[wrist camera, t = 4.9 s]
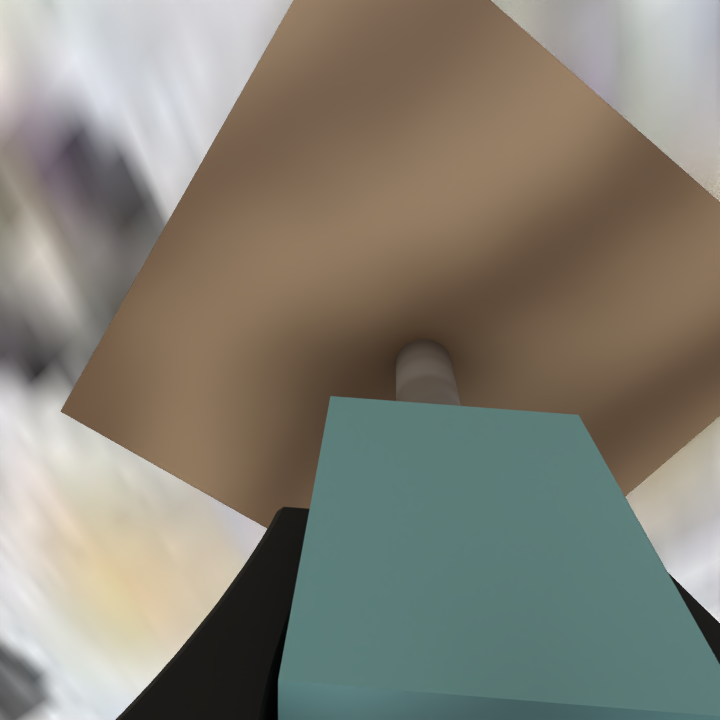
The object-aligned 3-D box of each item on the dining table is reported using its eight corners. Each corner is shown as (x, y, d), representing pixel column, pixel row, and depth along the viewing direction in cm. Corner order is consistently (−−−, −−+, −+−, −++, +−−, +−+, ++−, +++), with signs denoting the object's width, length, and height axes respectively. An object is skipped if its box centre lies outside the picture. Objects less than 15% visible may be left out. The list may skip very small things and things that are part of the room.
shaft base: (818, 298, 17) (999, 389, 12) (456, 614, 23) (475, 764, 18) (361, -103, 13) (345, -211, 8) (75, 395, 19) (-33, 505, 14)
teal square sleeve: (578, 414, 10) (750, 718, 5) (531, 596, 12) (628, 943, 7) (330, 396, 10) (278, 680, 6) (322, 579, 12) (277, 913, 7)
